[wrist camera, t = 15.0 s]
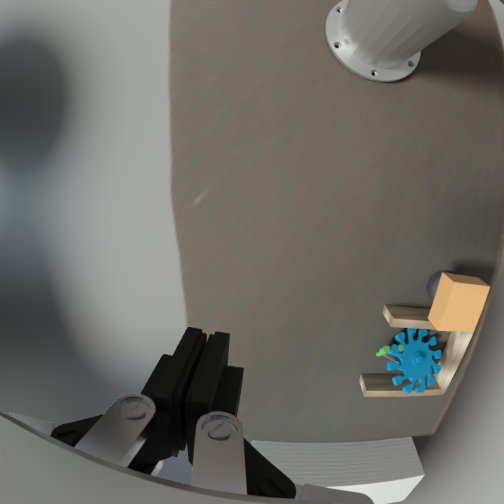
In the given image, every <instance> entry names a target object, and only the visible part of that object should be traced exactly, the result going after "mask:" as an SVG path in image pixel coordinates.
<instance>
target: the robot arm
mask: <svg viewBox="0 0 504 504" xmlns="http://www.w3.org/2000/svg"><path fill="white" fill-rule="evenodd" d="M500 1H501V2H502V3H503V4H504V0H500ZM477 2H478V0H343V1H341V2H339V3H338V4H337V5H335V6H334V7H333V9H332V10H331V11H330V13H329V15H328V17H327V21H326V25H325V34H326V39H327V42H328V45H329V47H330V49H331V51H332V52H333V54H334V56H335V57H336V58H337V59H338V60H339V61H340V63H342V64H343V65H344V66H345V67H346V68H347V69H349V70H350V71H352V72H353V73H355V74H356V75H359V76H361V77H363V78H365V79H369V80H372V81H377V82H393V81H397V80H400V79H402V78H404V77H406V76H407V75H409V74H410V73H412V71H413V70H414V69H415V68H416V67H417V64H418V62H419V60H420V55H421V50H422V49H424V48H425V47H426V46H428V45H429V44H431V43H432V42H434V41H435V40H436V39H438V38H439V37H441V36H442V35H444V34H445V33H447V32H448V31H450V30H451V29H453V28H454V27H456V26H457V25H459V24H460V23H461V22H463V21H464V20H466V19H467V18H468V17H469V16H470V15H471V14H472V13H473V11H474V10H475V7H476V5H477ZM337 11H338V12H337ZM339 12H340V13H339ZM335 46H337V47H338V48H335ZM408 64H409V65H408ZM371 73H373V74H374V76H373V75H372V74H371ZM206 340H207V334H206V333H202V329H198V328H192V327H188V328H187V329H186V331H185V333H184V335H183V337H182V339H181V341H180V342H179V344H178V346H177V348H176V350H175V352H174V354H173V356H171V355H167V354H164V355H162V357H161V358H160V360H159V362H158V364H157V365H156V367H155V369H154V371H153V372H152V374H151V376H150V378H149V380H148V381H147V383H146V385H145V387H144V389H143V390H142V392H141V394H133V393H132V394H126V395H124V396H121V397H120V398H118V399H117V400H116V401H115V402H114V403H113V405H112V406H111V407H110V408H109V409H108V410H107V411H106V412H105V413H104V414H103V415H99V416H95V417H91V418H88V419H83V420H80V421H75V422H71V423H67V424H63V425H60V426H58V427H55V425H54V423H49V422H45V421H41V420H38V419H34V418H30V417H27V416H23V415H20V414H17V413H6V414H5V413H2V412H0V504H374V502H373V501H372V499H371V498H370V497H369V496H367V495H366V494H363V493H359V492H352V491H345V490H338V489H332V488H326V487H321V486H316V485H311V484H306V483H305V485H304V486H303V485H299V484H294V483H293V482H292V480H291V479H290V478H289V477H287V476H286V475H285V474H284V473H283V472H281V471H280V470H279V469H278V468H277V467H276V466H274V465H273V464H272V463H271V462H270V461H269V460H268V459H266V458H265V457H264V456H263V455H262V454H261V453H260V452H259V451H257V450H256V449H255V448H254V447H253V446H252V445H251V444H250V443H249V442H248V441H247V440H246V439H245V438H244V437H243V427H242V424H241V422H240V421H239V419H238V418H236V417H237V412H238V406H239V401H240V394H241V388H242V380H243V371H244V368H241V367H234V366H227V364H228V352H229V340H230V333H223V332H217V331H216V332H215V335H213V334H210V335H209V338H208V340H207V343H206ZM186 444H187V447H188V458H189V462H190V463H191V464H192V466H193V470H192V483H191V485H187V484H182V483H178V482H174V481H170V480H166V479H162V478H158V477H156V476H157V474H158V472H159V471H160V469H161V467H162V466H163V463H164V459H167V458H170V457H171V456H174V457H177V456H178V453H179V450H182V451H184V450H185V447H186Z"/></svg>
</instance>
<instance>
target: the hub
mask: <svg viewBox="0 0 504 504" xmlns="http://www.w3.org/2000/svg"><path fill="white" fill-rule="evenodd" d="M489 289H490V286H489V285H487V284H486V283H485V282H483V281H482V280H481V279H479V278H478V277H471V276H464V275H457V274H450V273H443V272H442V275H441V279H440V282H439V285H438V289H437V292H436V295H435V298H434V301H433V304H432V307H431V310H430V313H429V316H428V320H429V321H430V322H431V323H432V325H433V326H434V327H435V328H436V330H437V331H465V332H474V329H475V327H476V325H477V322H478V319H479V317H480V314H481V312H482V309H483V306H484V303H485V301H486V298H487V295H488V292H489Z"/></svg>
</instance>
